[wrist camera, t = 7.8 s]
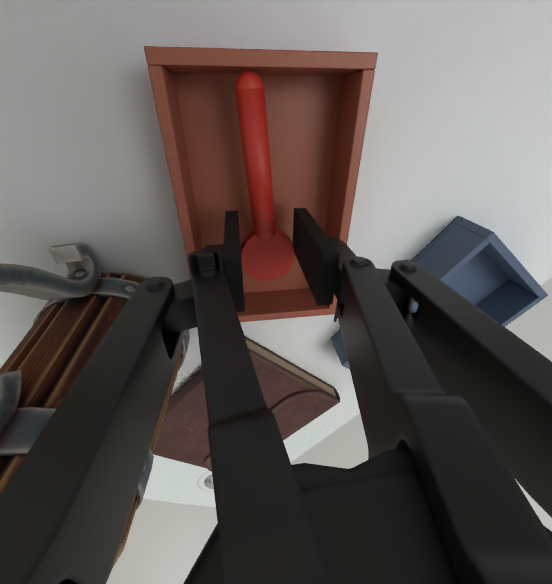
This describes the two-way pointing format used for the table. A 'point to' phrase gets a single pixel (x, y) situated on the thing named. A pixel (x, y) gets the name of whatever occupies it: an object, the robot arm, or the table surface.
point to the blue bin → (475, 274)
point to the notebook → (277, 393)
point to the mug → (61, 350)
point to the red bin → (282, 144)
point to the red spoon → (260, 186)
